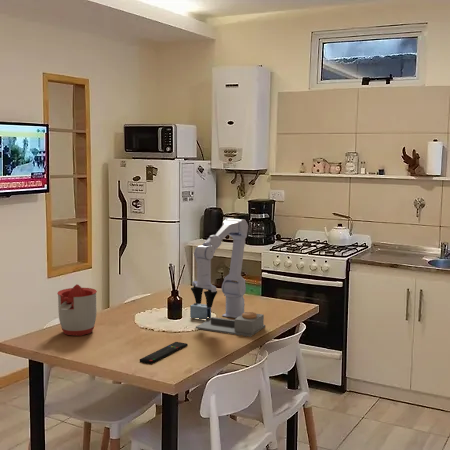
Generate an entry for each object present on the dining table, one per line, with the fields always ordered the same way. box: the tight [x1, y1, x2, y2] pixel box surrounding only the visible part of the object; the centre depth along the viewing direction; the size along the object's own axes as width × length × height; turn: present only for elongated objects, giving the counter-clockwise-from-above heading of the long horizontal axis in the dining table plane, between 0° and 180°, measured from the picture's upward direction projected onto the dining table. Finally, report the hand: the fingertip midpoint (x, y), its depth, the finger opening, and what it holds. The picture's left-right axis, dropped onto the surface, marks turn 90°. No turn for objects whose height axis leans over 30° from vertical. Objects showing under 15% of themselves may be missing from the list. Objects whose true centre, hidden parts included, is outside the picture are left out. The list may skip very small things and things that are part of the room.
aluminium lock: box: [189, 302, 212, 320], centre depth 277 cm, size 5×8×7 cm, turn 64°
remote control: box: [139, 341, 188, 365], centre depth 230 cm, size 5×24×1 cm, turn 151°
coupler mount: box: [195, 311, 266, 338], centre depth 263 cm, size 16×25×7 cm, turn 64°
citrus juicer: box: [57, 284, 98, 337], centre depth 253 cm, size 16×17×20 cm
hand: (203, 305), depth 263 cm, fingers open, 7 cm apart
